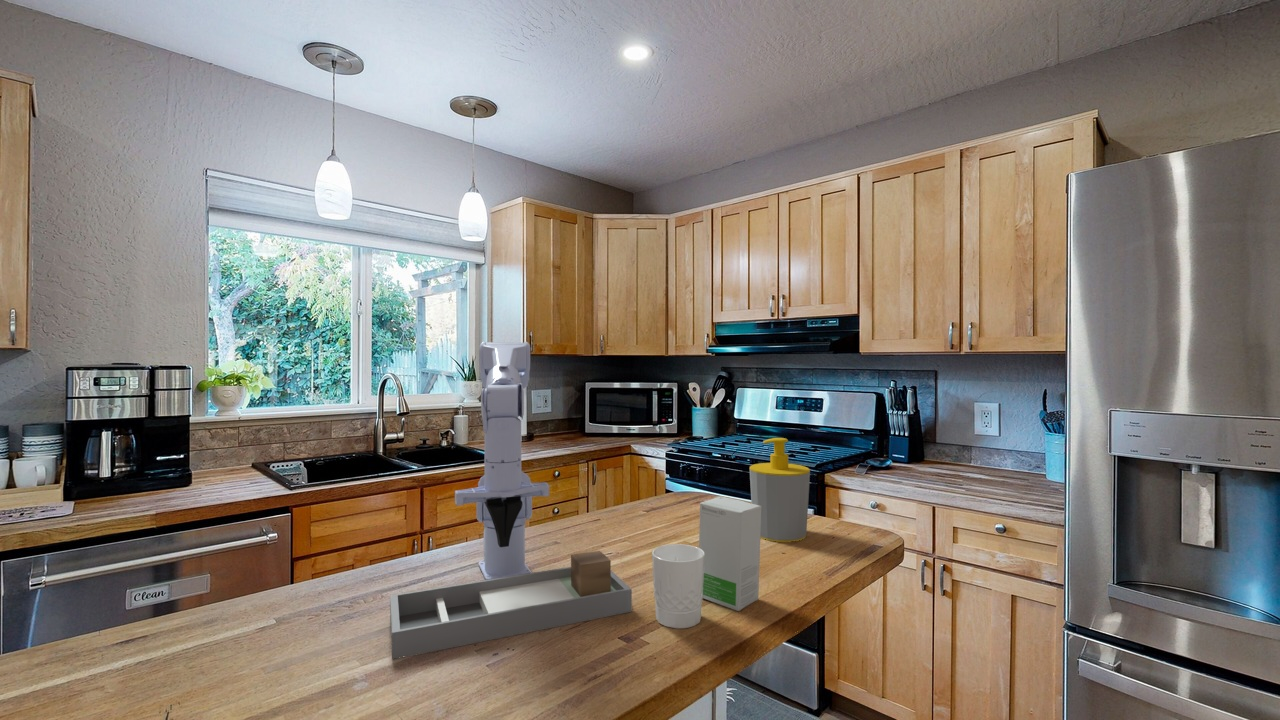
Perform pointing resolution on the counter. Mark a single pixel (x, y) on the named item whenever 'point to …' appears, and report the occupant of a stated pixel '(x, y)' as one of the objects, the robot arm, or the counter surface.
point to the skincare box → (730, 551)
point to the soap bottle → (781, 495)
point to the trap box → (496, 610)
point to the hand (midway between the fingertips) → (503, 545)
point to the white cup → (678, 584)
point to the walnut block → (590, 573)
